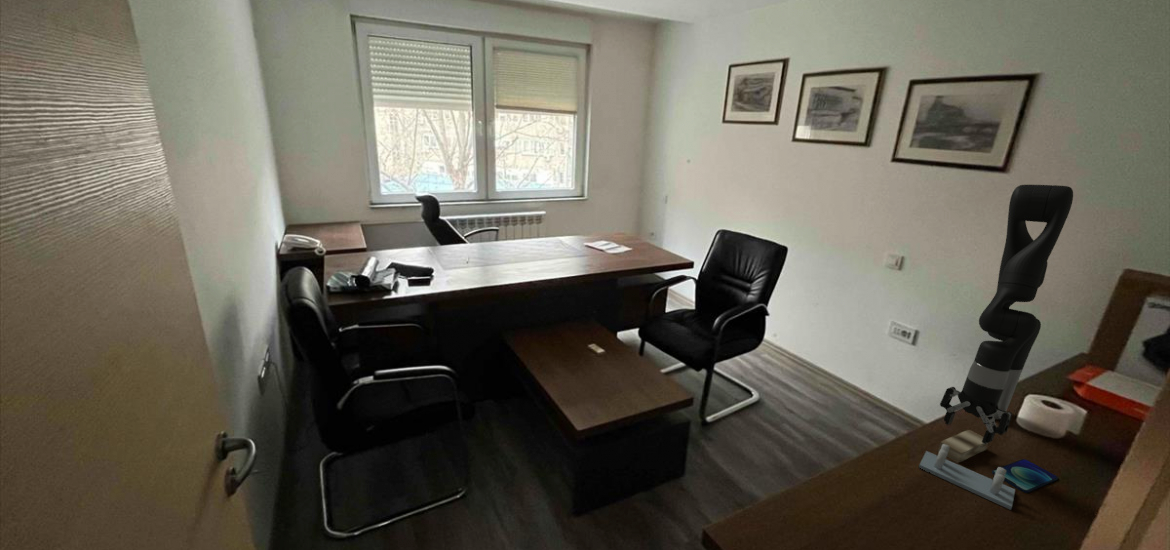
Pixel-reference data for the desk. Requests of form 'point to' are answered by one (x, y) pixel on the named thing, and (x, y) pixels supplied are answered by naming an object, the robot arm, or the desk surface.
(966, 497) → the desk surface
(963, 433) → the birch plank
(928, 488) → the desk surface
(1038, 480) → the smartphone
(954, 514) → the desk surface
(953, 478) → the peg rack
